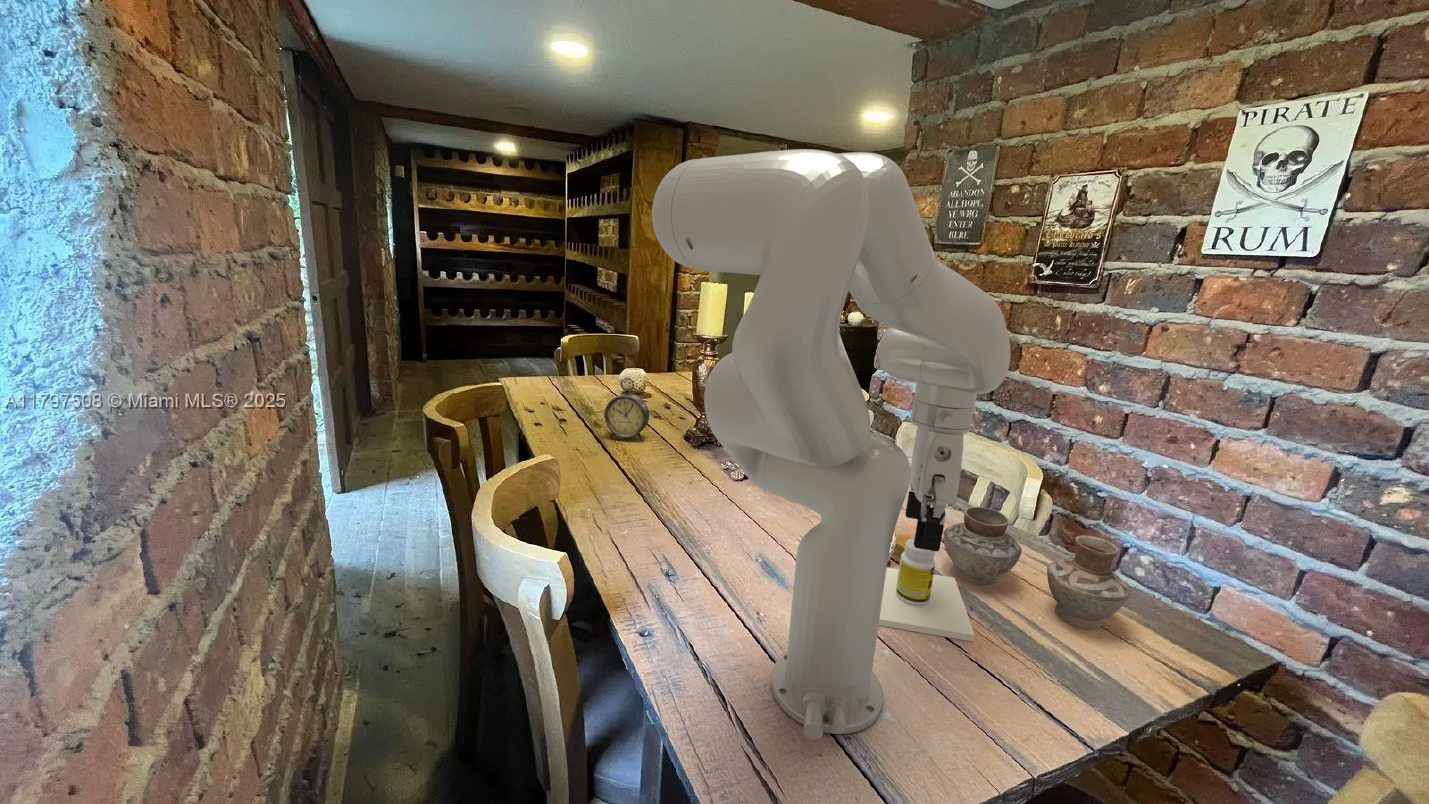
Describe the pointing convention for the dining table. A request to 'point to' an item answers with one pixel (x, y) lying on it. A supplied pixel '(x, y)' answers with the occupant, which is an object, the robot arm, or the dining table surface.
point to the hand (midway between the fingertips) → (920, 532)
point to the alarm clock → (626, 415)
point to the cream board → (927, 609)
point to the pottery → (1073, 582)
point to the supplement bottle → (915, 574)
